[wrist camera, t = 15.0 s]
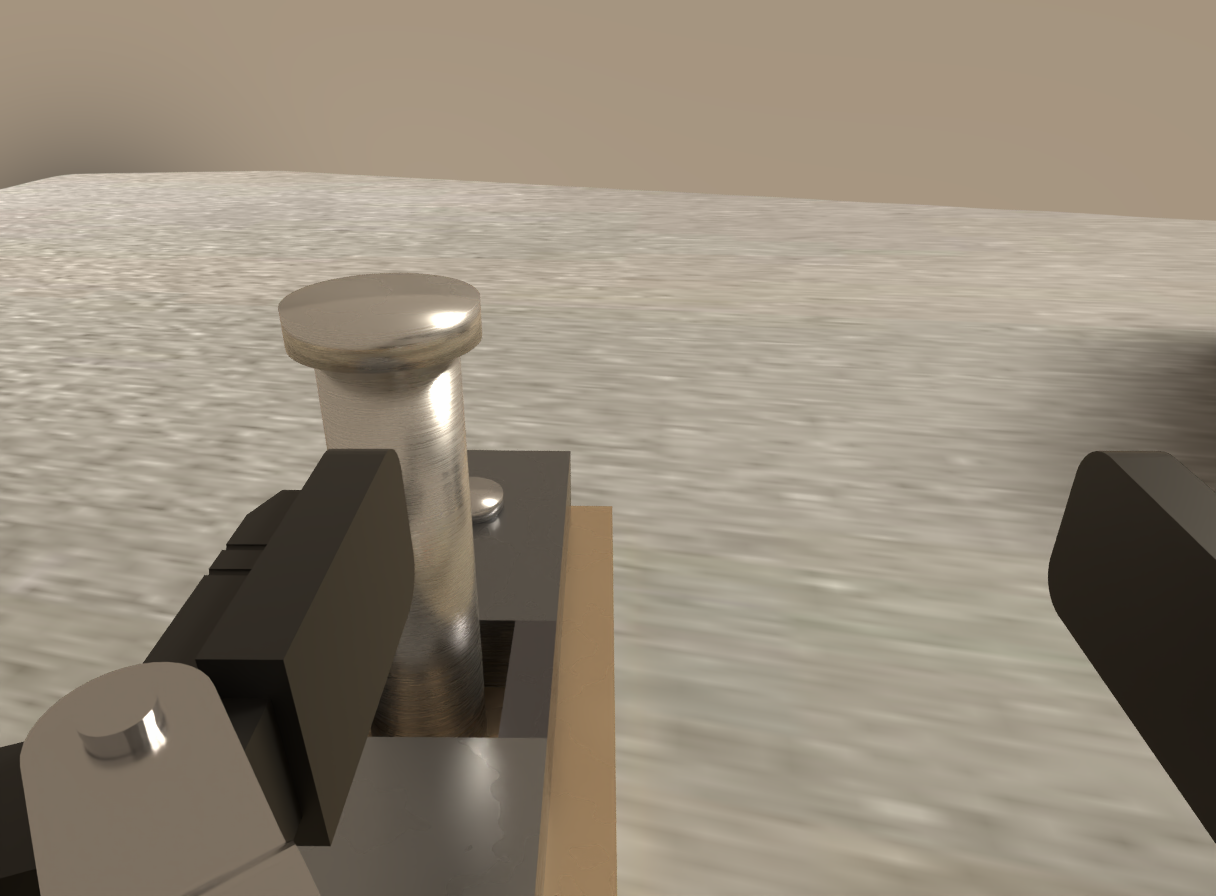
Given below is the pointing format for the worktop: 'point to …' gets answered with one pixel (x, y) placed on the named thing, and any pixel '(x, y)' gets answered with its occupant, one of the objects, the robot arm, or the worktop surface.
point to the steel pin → (408, 467)
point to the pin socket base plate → (505, 719)
